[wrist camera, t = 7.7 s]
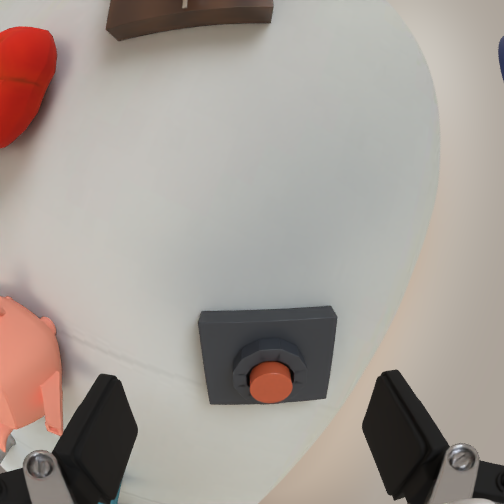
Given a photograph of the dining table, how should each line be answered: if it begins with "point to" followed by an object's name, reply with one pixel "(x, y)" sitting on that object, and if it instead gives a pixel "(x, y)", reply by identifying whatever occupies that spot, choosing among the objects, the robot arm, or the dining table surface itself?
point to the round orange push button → (270, 382)
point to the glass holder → (7, 447)
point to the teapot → (28, 371)
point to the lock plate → (181, 15)
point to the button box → (267, 350)
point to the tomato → (23, 77)
